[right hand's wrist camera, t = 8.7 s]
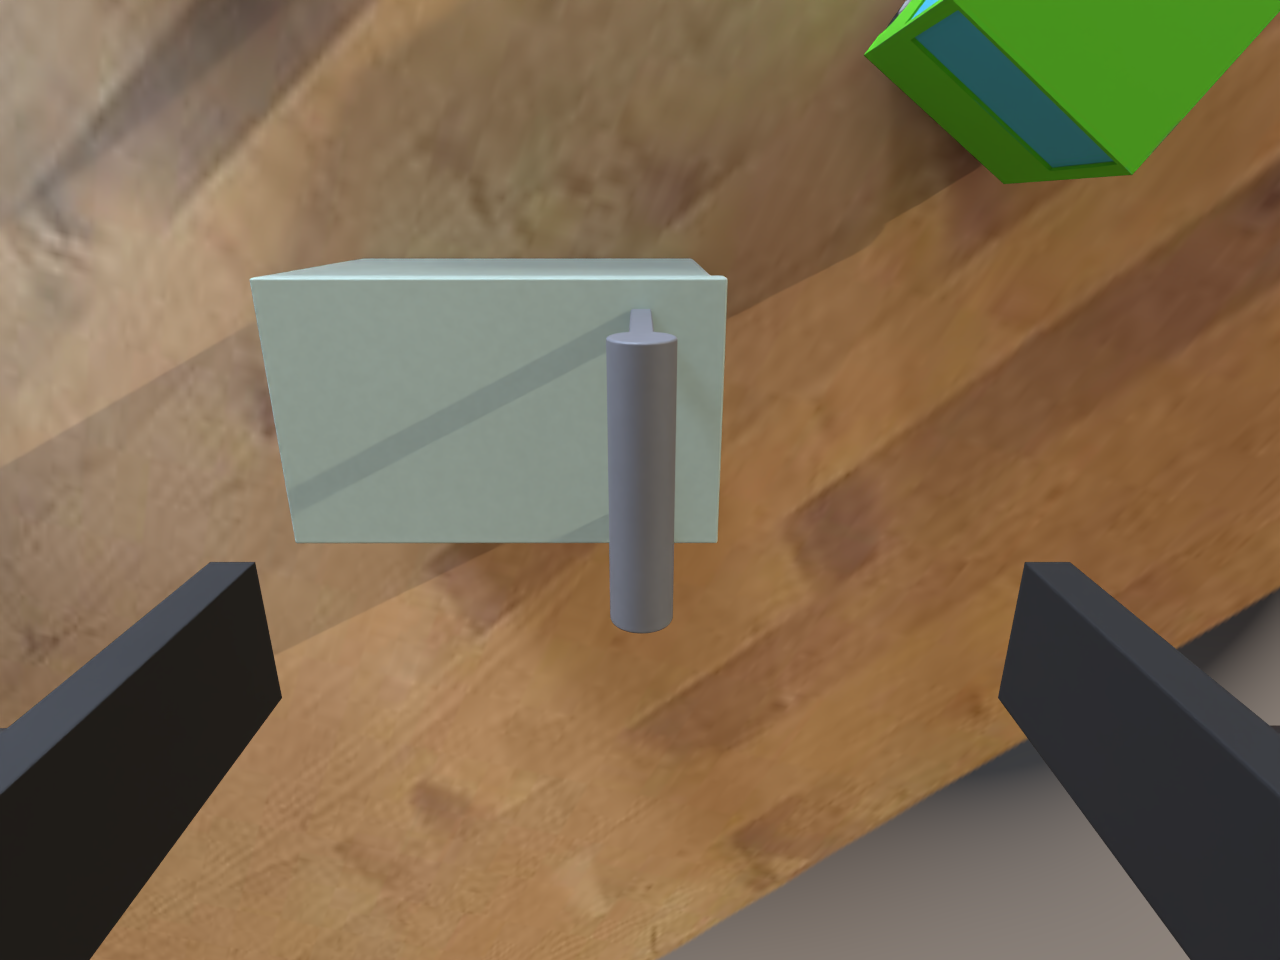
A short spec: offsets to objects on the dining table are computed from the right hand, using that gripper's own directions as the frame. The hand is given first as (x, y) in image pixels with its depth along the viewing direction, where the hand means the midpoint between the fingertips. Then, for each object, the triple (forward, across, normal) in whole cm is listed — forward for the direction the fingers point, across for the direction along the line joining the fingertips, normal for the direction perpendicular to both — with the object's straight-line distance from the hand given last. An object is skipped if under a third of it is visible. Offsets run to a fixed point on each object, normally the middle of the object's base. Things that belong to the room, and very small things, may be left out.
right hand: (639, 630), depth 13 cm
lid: (+15, -5, 0) cm, 16 cm away
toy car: (+24, +16, +16) cm, 33 cm away
